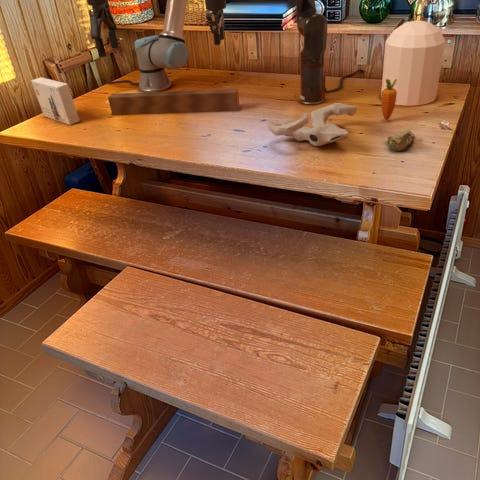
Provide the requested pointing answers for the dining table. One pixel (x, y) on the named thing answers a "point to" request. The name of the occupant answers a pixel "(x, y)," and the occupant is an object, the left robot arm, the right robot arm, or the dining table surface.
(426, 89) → the container
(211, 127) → the dining table surface
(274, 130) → the animal horns
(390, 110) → the carrot
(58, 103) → the skincare box
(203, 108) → the beam
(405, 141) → the rock
